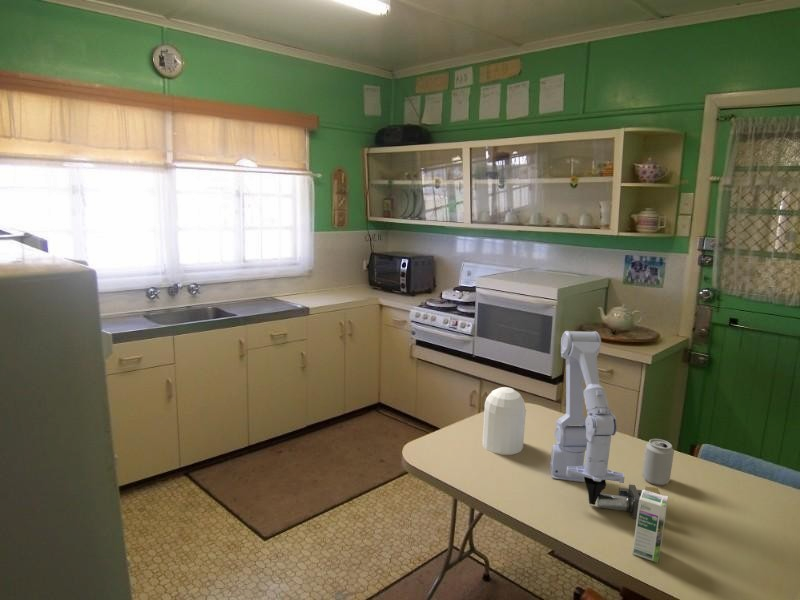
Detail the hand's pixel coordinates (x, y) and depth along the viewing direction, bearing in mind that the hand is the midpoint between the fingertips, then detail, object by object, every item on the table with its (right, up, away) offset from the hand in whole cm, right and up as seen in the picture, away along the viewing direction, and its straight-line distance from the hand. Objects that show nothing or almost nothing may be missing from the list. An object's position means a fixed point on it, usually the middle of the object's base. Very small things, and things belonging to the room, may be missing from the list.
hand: (591, 502), depth 147 cm
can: (+24, +1, +15) cm, 28 cm away
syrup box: (+7, -5, -18) cm, 20 cm away
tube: (+7, -2, -1) cm, 8 cm away
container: (-18, +6, +34) cm, 39 cm away
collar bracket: (+13, -2, -1) cm, 13 cm away
